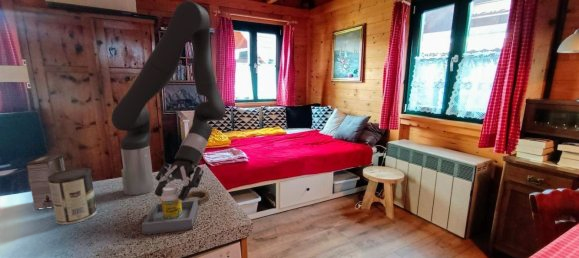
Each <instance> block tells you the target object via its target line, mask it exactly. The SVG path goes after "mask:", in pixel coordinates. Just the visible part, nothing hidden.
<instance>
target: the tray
mask: <svg viewBox="0 0 579 258" xmlns="http://www.w3.org/2000/svg"><path fill="white" fill-rule="evenodd" d="M198 199H199V198H197V199H188V200H185V201H182V200H181V204H182V216H181V217H180V218H179V219H174V220H164V218H163V210H162V202H155V203H154V204H153V206H152V207H151V209H150V211H149V213H148V214H147V216H146V217H145V218H144V220H143V222H142V224H141V228H142V235H143V236H144V235H150V234H153V235H154V234H159V233H169V232H178V231H179V232H180V231H186V230H193V229H194V226H195V221H196V217H197V214H198V210H199V205H198Z"/></svg>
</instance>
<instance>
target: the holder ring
mask: <svg viewBox="0 0 579 258" xmlns="http://www.w3.org/2000/svg"><path fill="white" fill-rule="evenodd" d="M197 196H198V197H199V196H202V197H201V198H197V199H198V206H201V205H202V204H204V203H207V202H208V201H209V198H210V192H209V191H206V190H193V191H189V193H188V195H187V198H186V199H185V200H189V199H190V198H192V197H197ZM185 200H184V201H185ZM181 201H183V200H181Z"/></svg>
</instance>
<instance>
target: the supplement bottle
mask: <svg viewBox="0 0 579 258" xmlns="http://www.w3.org/2000/svg"><path fill="white" fill-rule="evenodd" d="M179 194H180V192H179V191H178V185H176V184H170V185H169V184H168V185H166V187H164V188H163V193H162V195H161V196H160V197H161V198H160V199H161V202H160V203H162V210H163V218H164V220H174V219H179V218H180V217H181V216H182V204H181V201H182V200H180V199H179V198H178V197H179Z"/></svg>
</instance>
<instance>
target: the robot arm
mask: <svg viewBox="0 0 579 258" xmlns="http://www.w3.org/2000/svg"><path fill="white" fill-rule="evenodd" d="M210 22H211V21H210V15H209V13H208V11H207V10H206V9H205V8H204V7H203V6H201V5H199V3H196V2H195V1H192V0H184V1H181V2H180V3H178V5H177V7H176V8H175V9H174V11H173V14H172V15H171V17H170V20H169V22H168V25H167V27H166V28H165V31H164V33H163V35H162V36H161V37H160V40H158V42H157V44H156V46H155V47H154V49H153V50H152V52H151V53H150V55H149V56H148V58H147V60H146V61H145V63H144V65H143V66H142V68H141V70H140V72H138V73H139V74H138V75H137V76H136V78H135V79H134V81H133V83H132V84H131V86H130V88H129V90H128V91H127V92H126V93H125V95H124V96H123V97H122V98H121V100H120V101H119V102H118V103H117V105H115V107H114V109H113V111H112V113H111V123H112V126H113V127H114V128H115V129H117V130H119V131H125V132H126V134H125V135H124V137H123V138H122V139H121V140H120V143H119V144H120V152H121V159H122V160H121V161H122V168H121V170H120V171H121V179H122V186H123V194H124V195H128V196H139V195H144V194H148V193H149V192H152V191H154V188H155V186H154V176H153V167H152V166H153V165H152V157H151V149H150V141H151V140H150V139H151V136H152V132H151V118H150V113H149V111H148V108H147V107H146V105H147V104H148V103H149V102H150V101H151V100H152V99H153V98H154V97H155V96H156V95H157V94H159V93H160V92H161V91H163V90H164V89H165V88H166V86H168V84H169V83H170V82H171V81H172V78H173V77H174V75H175V73H177V70H178V68H179V65H180V60H181V57H182V54H183V50H184V49H185V46H186V45H187V44H188V42H189V40H191V45H192V74H193V79H194V84H195V90H196V93H197V94H198V95H199V96H203V97H205V98H206V99H207V101H201V102H199V103H198V104H197V105H196V106H195V108H194V113H193V118H192V124H191V127H190V128H189V130H188V131H187V134H186V135H185V138H183V140H182V142H181V145H180V146H179V148H178V150H177V152H176V154H175V156H174V162H173V163H171V164H170V163H167V161H166V162H164V163H163V164H162V166H161V167H160V169H159V171H158V173H157V174H156V176H155V180H156V181H157V182H158V184H157V187H156V188H155V191H154V195H155V196H157V197H162V195H163V194H164V193H163V188H164V187H166V186H167V185H169V183H170V182H173V181H174V180H176V181H177V180H181V181H183V183H184V185H183V186H182V187H181V190H180V192H179V193H180V194H179V197H178V198H179V199H180V200H181V201H182V200H183V201H184V200H185V199H186V198H187V195H188V193H189V192H191V190H192V189H193V188H195V189H196V188H197V189H198V187H199V185H200V182H201V180H202V177H203V175H204V169H203V168H202V167H200V166H199V165H200V161H201V159H202V157H203V155H204V153H205V150H206V148H207V144H208V142H209V139H210V138H211V135H212V132H213V127H212V126H211V124H210V123H208V122H211V121H212V122H214V121H216V122H217V121H222V120H223V119H224V117H225V115H226V106H225V103H224V101H223V98H222V96H221V94H220V92H219V89H218V87H217V82H216V80H217V79H216V76H215V71H214V64H213V57H212V49H211V26H210V25H211V24H210ZM192 175H193V176H192Z"/></svg>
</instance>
